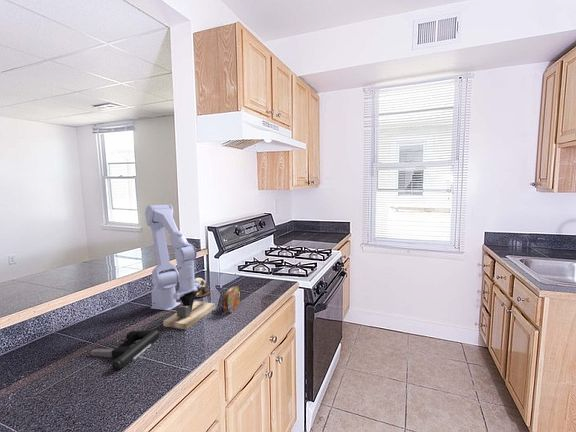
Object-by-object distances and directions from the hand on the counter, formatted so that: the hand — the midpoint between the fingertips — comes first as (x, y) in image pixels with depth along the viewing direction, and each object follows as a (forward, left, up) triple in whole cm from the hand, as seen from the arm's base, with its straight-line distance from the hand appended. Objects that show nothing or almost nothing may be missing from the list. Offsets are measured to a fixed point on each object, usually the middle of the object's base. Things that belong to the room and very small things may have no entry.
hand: (188, 310), depth 121 cm
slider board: (0, +2, -3) cm, 3 cm away
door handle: (-6, -26, -4) cm, 27 cm away
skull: (-12, +24, -3) cm, 27 cm away
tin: (+12, +14, -3) cm, 18 cm away
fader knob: (0, -3, -1) cm, 3 cm away
